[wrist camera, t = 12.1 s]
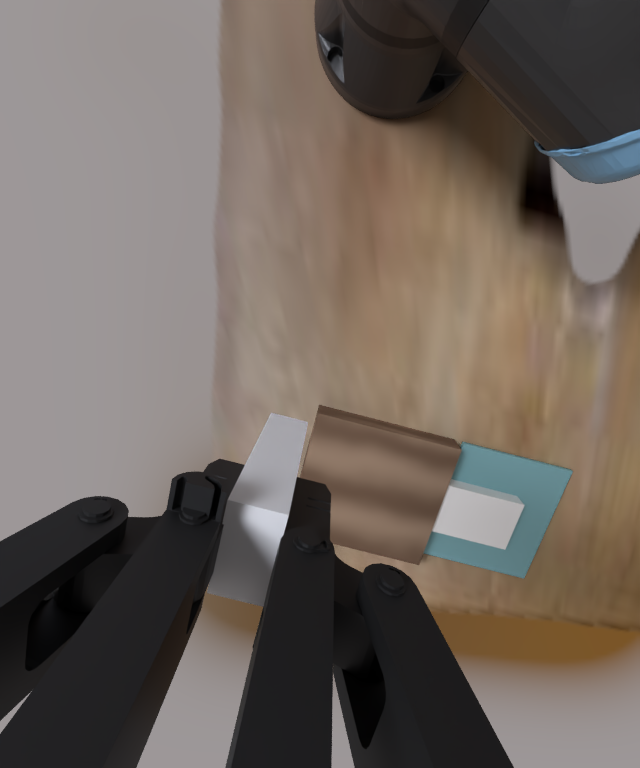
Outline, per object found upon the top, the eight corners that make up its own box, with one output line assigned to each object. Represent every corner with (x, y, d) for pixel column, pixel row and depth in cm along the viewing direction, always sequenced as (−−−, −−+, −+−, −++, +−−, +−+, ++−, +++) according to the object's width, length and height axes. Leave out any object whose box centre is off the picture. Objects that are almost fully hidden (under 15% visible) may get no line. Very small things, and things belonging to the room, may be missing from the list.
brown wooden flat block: (319, 404, 46) (318, 413, 44) (454, 439, 47) (461, 450, 44) (289, 517, 50) (286, 531, 47) (414, 548, 51) (418, 564, 48)
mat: (462, 441, 47) (463, 443, 46) (570, 469, 47) (572, 471, 47) (422, 550, 51) (422, 553, 50) (522, 575, 51) (524, 578, 50)
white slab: (443, 477, 47) (447, 485, 46) (516, 496, 48) (524, 505, 46) (426, 520, 49) (430, 530, 47) (498, 539, 49) (505, 549, 47)
